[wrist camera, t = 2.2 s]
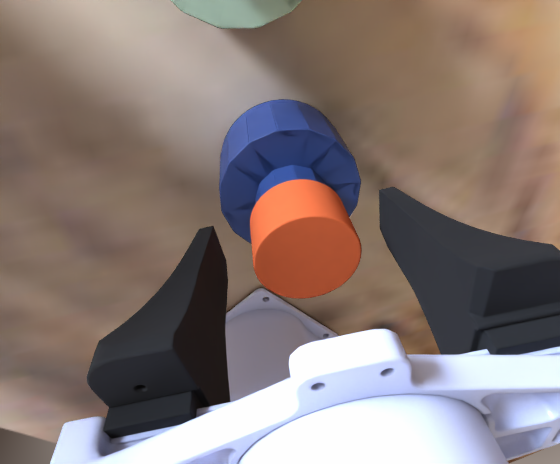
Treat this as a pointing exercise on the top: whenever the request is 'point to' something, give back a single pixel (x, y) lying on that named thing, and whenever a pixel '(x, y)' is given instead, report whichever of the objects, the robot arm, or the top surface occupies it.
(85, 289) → the top surface
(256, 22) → the green ribbed hub
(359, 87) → the top surface
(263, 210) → the bung
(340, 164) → the blue ribbed hub
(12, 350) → the top surface
